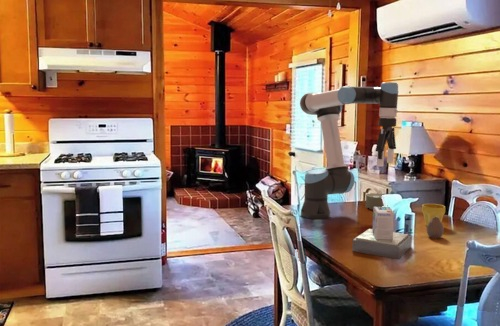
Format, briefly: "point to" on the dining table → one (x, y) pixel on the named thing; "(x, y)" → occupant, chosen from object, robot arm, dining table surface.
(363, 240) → the stand
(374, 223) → the light bulb box
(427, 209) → the plant pot
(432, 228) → the gray brown egg
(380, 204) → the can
